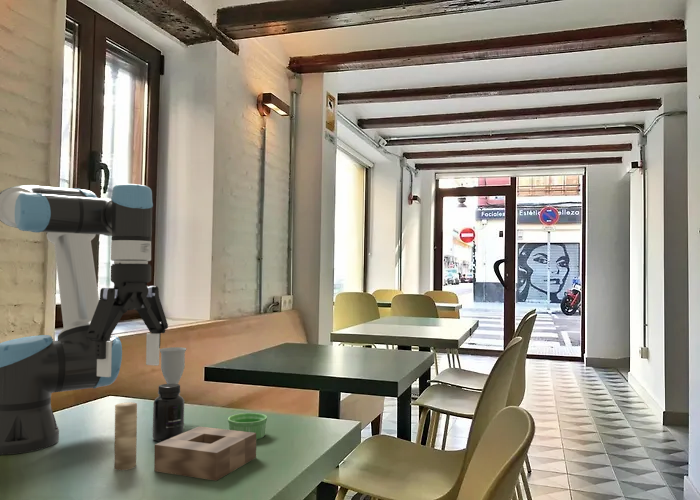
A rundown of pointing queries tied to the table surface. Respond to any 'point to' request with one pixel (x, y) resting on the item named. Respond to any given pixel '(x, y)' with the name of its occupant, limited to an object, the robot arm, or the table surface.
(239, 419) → the ramekin
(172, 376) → the chalice
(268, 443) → the table surface
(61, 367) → the robot arm
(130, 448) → the peg
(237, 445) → the socket block
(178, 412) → the supplement bottle
